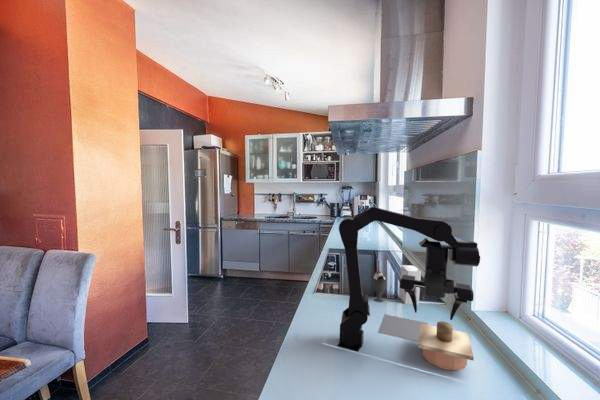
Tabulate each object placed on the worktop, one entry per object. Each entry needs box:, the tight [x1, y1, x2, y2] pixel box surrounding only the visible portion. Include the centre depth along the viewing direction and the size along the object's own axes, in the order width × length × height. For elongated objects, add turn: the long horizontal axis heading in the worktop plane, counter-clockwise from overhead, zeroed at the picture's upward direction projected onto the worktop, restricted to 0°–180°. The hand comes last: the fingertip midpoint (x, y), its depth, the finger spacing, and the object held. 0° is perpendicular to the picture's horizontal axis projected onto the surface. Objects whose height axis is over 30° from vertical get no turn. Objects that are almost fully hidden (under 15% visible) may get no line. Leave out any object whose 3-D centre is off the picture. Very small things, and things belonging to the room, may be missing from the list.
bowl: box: [422, 348, 468, 371], centre depth 81 cm, size 11×11×5 cm
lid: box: [418, 321, 475, 361], centre depth 80 cm, size 13×13×5 cm
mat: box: [377, 313, 429, 343], centre depth 97 cm, size 15×15×1 cm
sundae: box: [370, 268, 388, 303], centre depth 120 cm, size 7×7×15 cm
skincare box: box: [398, 264, 422, 306], centre depth 121 cm, size 8×6×15 cm
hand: (432, 315), depth 82 cm, fingers open, 9 cm apart
